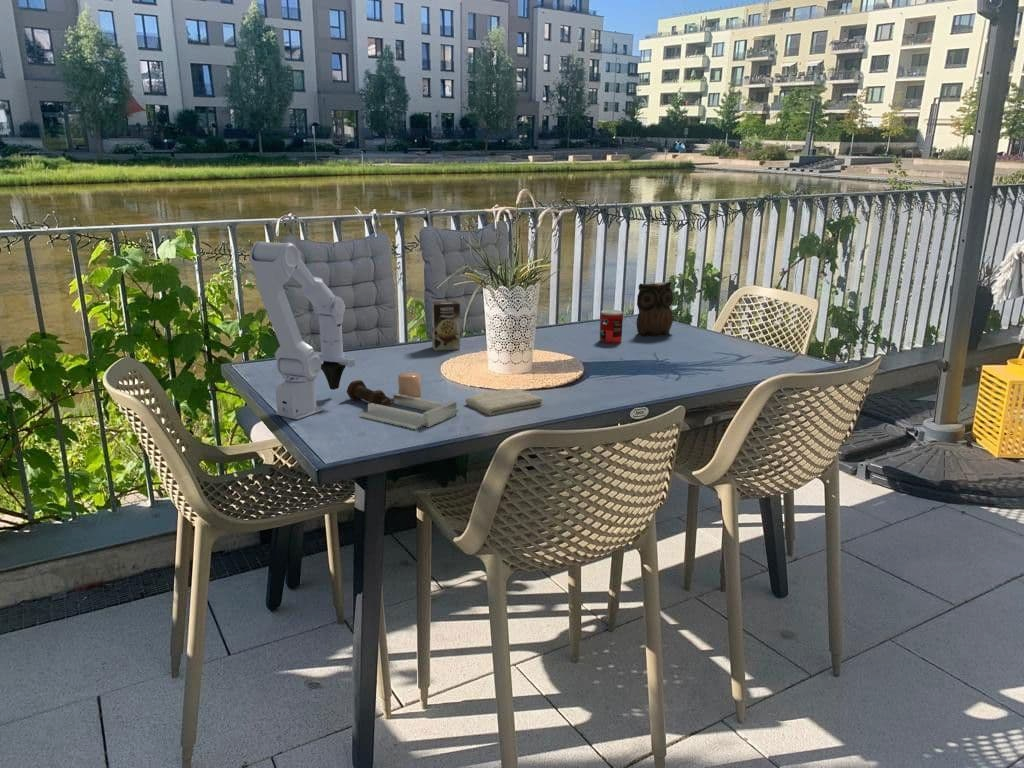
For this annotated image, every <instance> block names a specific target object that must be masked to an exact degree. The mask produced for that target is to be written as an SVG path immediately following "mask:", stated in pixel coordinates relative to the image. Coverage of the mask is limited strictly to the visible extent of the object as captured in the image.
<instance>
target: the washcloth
mask: <svg viewBox="0 0 1024 768" xmlns="http://www.w3.org/2000/svg"><path fill="white" fill-rule="evenodd" d="M465 403H466V404H467V405H468V406H469V407H471V408H473V409H476V410H478V411H479V412H480V413H482V412H483V414H485V415H487V416H495V414H496V415H499V414H500V413H501V414H504V413H511V412H515V411H519V410H525V409H530V408H534V407H541V406H543V397H542V396H541V397H540V396H538V395H534V394H532V393H530V392H528V391H527V390H525V389H522V388H519V387H518V388H517V387H516V388H514V389H505V388H500V389H498V390H494V391H488V392H482V393H478V394H473V395H470V396H468V397H467V398H466V399H465Z"/></svg>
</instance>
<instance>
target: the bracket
mask: <svg viewBox="0 0 1024 768" xmlns="http://www.w3.org/2000/svg"><path fill="white" fill-rule="evenodd" d="M393 403H394V405H398V406H402V407H403V406H404V407H407V408H411V409H416V410H421V411H425V412H423V413H419V412H416V411H415V412H414V411H410V410H406V409H401V408H396V407H392V406H390V407H388V406H384V405H379V404H375V403H370V404H369V403H368V404H367V411H366V412H363V413H360V414H359V417H360V418H363V419H367V418H368V420H372V421H377V422H380V423H384V422H385V423H384V424H388V423H389V425H392V424H394V425H393V426H397V425H398V426H397V427H401V426H403V427H402V428H405V427H407V428H406V429H409V428H411V429H410V430H413V429H415V430H414V431H417V430H419V429H421V428H423V427H422V426H426V427H425V428H427V427H429V428H431V427H433V426H435V425H434V424H436V425H438V424H440V423H442V422H444V420H445V421H447V420H449V419H451V418H454V417H456V416H457V413H458V412H460V408H457V401H453V400H451V401H448V402H446V403H444V402H440V401H435V400H431V399H425V398H421V397H420V398H417V397H412V396H407V395H402V394H399V392H398V393H395V394H393ZM455 415H456V416H455ZM453 416H454V417H453ZM446 419H447V420H446ZM439 422H440V423H439ZM437 423H438V424H437ZM432 425H433V426H432ZM430 426H431V427H430ZM420 427H421V428H420ZM418 428H419V429H418ZM416 429H417V430H416Z"/></svg>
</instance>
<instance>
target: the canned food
mask: <svg viewBox="0 0 1024 768" xmlns="http://www.w3.org/2000/svg"><path fill="white" fill-rule="evenodd" d="M599 317H600V318H599V320H600V322H599V324H600V325H599V341H600V342H601V343H604V344H609V345H610V344H611V345H612V344H620V343H621V342H622V337H623V336H622V335H623V319H624V312H623V311H622V310H617V309H603V310H601V311H600V316H599Z"/></svg>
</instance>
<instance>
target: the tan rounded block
mask: <svg viewBox="0 0 1024 768" xmlns="http://www.w3.org/2000/svg"><path fill="white" fill-rule="evenodd" d="M397 376H398V377H397V381H398V394H402V395H407V396H412V397H417V398H421V397H422V391H421V389H422V388H421V373H418V372H410V371H409V372H408V371H407V372H402V373H400V374H398V375H397Z"/></svg>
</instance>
